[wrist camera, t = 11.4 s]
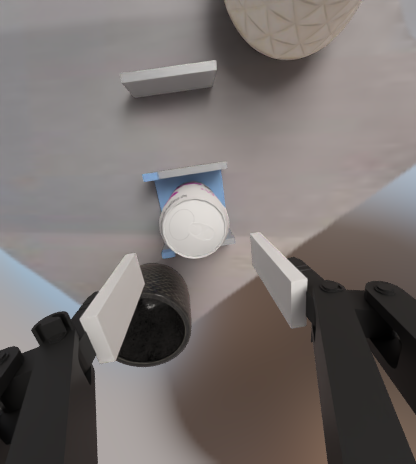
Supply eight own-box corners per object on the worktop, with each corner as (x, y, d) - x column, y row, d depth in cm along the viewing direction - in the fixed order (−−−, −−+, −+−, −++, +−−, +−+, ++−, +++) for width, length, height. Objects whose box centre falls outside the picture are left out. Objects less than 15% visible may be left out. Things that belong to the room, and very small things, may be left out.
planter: (200, 262, 40) (204, 305, 28) (179, 316, 44) (175, 374, 32) (130, 243, 38) (102, 281, 26) (115, 302, 42) (84, 359, 30)
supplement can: (164, 217, 36) (147, 251, 22) (179, 173, 34) (170, 180, 20) (205, 231, 38) (215, 271, 24) (222, 190, 36) (243, 208, 22)
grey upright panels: (132, 90, 30) (116, 69, 23) (211, 79, 30) (217, 55, 24) (167, 242, 38) (162, 258, 32) (228, 231, 39) (237, 246, 32)
